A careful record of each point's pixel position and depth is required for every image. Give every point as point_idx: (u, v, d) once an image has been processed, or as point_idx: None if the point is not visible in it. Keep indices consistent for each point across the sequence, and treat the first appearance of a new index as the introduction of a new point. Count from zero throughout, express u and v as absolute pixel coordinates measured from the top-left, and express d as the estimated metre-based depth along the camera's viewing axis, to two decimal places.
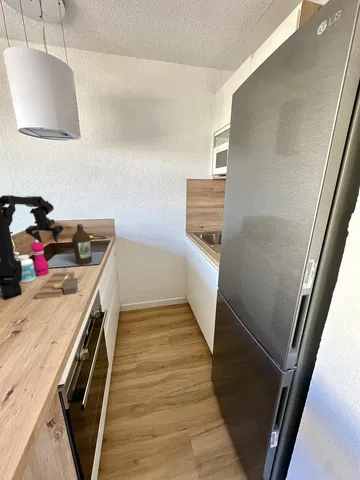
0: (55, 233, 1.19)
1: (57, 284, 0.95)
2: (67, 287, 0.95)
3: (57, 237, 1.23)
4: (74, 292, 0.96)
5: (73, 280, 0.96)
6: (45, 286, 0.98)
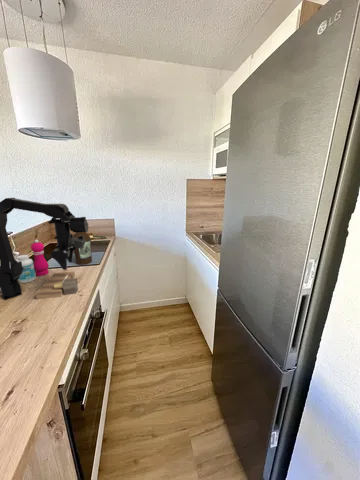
0: None
1: (57, 284, 0.95)
2: (67, 287, 0.95)
3: (63, 263, 0.90)
4: (74, 292, 0.96)
5: (73, 280, 0.96)
6: (45, 286, 0.98)
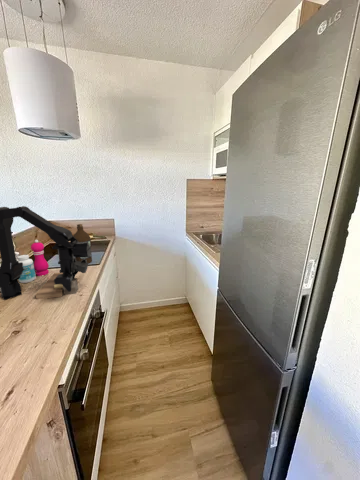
0: None
1: (57, 284, 0.95)
2: None
3: (68, 286, 0.94)
4: (74, 292, 0.96)
5: (73, 280, 0.96)
6: (45, 286, 0.98)
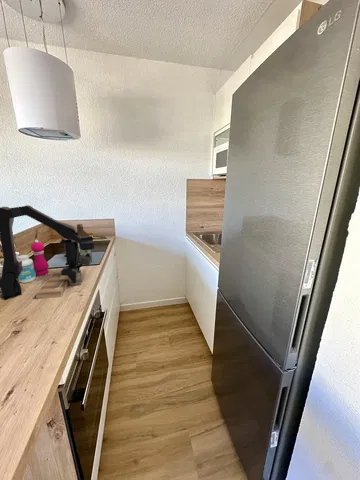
0: None
1: (63, 276, 1.03)
2: None
3: (73, 277, 1.02)
4: (79, 284, 1.04)
5: (78, 272, 1.05)
6: (45, 286, 0.98)
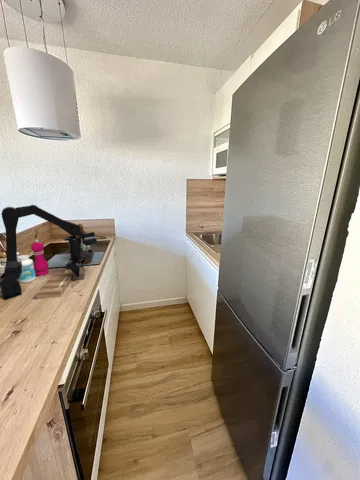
0: None
1: (67, 270, 1.09)
2: None
3: (76, 272, 1.08)
4: (82, 278, 1.11)
5: (81, 267, 1.11)
6: (45, 286, 0.98)
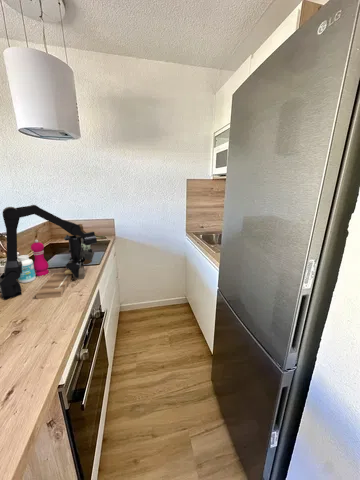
0: None
1: (67, 270, 1.10)
2: None
3: (76, 272, 1.07)
4: (82, 278, 1.11)
5: (81, 267, 1.12)
6: (45, 286, 0.98)
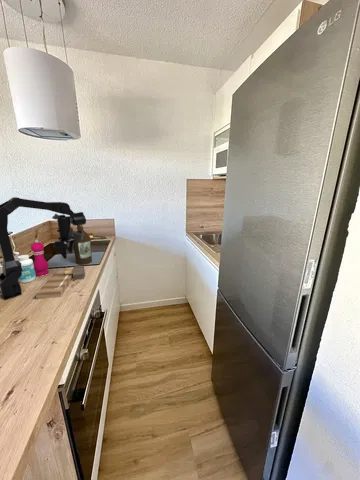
0: None
1: (67, 270, 1.10)
2: (76, 273, 1.10)
3: (64, 253, 1.05)
4: (82, 278, 1.11)
5: (81, 267, 1.12)
6: (45, 286, 0.98)
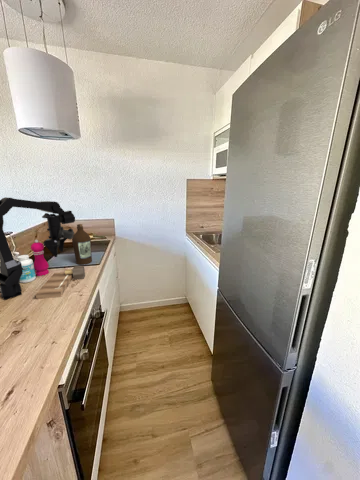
0: None
1: (67, 270, 1.10)
2: (76, 273, 1.10)
3: (54, 251, 1.06)
4: (82, 278, 1.11)
5: (81, 267, 1.12)
6: (45, 286, 0.98)
